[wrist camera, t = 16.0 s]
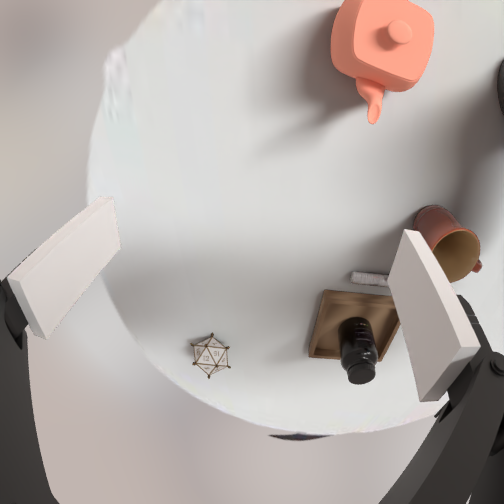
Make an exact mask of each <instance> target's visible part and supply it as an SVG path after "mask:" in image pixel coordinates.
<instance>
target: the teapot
mask: <svg viewBox="0 0 504 504" xmlns="http://www.w3.org/2000/svg"><path fill="white" fill-rule="evenodd" d="M433 38H434V22H433V18H432V16H431V15H430V13H428V12H427V11H426V10H424V9H423V8H421V7H419V6H417V5H415V4H413V3H411V2H409V1H408V0H345V1H344V2H343V4H342V5H341V7H340V9H339V11H338V13H337V15H336V18H335V21H334V24H333V28H332V34H331V59H332V63H333V65H334V66H335V68H336V69H337V70H339V71H340V72H341V73H344V74H346V75H348V76H350V77H352V78H355V79H356V87H357V91H358V93H359V94H360V96H361V97H362V98H363V99H365V100H366V101H367V103H368V114H367V115H368V121H369V123H371V124H374V123H376V122H377V120H378V119H379V116H380V113H381V108H382V98H383V95H384V91H385V89H386V90H389V91H393V92H402V91H406V90H408V89H410V88H412V87H413V86H414V85H415V84H416V83H417V82H418V80H419V79H420V77H421V76H422V74H423V72H424V70H425V68H426V65H427V63H428V60H429V58H430V54H431V50H432V45H433Z"/></svg>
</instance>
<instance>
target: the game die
mask: <svg viewBox="0 0 504 504" xmlns="http://www.w3.org/2000/svg"><path fill="white" fill-rule="evenodd" d="M213 335H214V334H213V333H212V334H211V337H210V338H208V339H206V340H204V341H202V342H200V343H197V344H195V345H194V344H192V343H190V344H191V345H192V346H193V347H194V357H195V362H193V365H198V366H199V367H200V368H201V369H202V370H203V371H204V372H205V373H207V374H208V379H209V378H210V375H211V374H213V373H215V372H217V371H219V370H221V369H223V368H225V367H228V368H231V367H230V366H228V360H227V349H229V348H230V347H229V346H228V347H225V346H223V345H222V344H221V343H220V342H218V341H217V340H216V339H215V338H214V337H213Z"/></svg>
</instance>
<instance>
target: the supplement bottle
mask: <svg viewBox="0 0 504 504" xmlns="http://www.w3.org/2000/svg"><path fill="white" fill-rule="evenodd" d="M338 341H339V350H340V359H341V365H342V367H343V369H344V370H346V371H347V374H348V380H349V381H350V382H351V383H353V384H358V385H359V384H365V383H368V382H370V381H371V380H373V379H374V377H375V365H376V363H377V360H378V353H377V348H376V344H375V339H374V335H373V330H372V326H371V324H370V322H369V321H368V320H367V319H365V318H362V317H352V318H349V319H347V320H345V321H344V322H342V323H341V325H340V326H339V328H338Z"/></svg>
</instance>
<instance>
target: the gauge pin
mask: <svg viewBox="0 0 504 504" xmlns="http://www.w3.org/2000/svg"><path fill="white" fill-rule="evenodd" d="M388 277H389V275H381V274H372V273H363V272H354V271H352V273H351V279H350V281H351V283H354V284H363V285H373V286H383V287H389V285H388V282H387V279H388Z"/></svg>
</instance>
